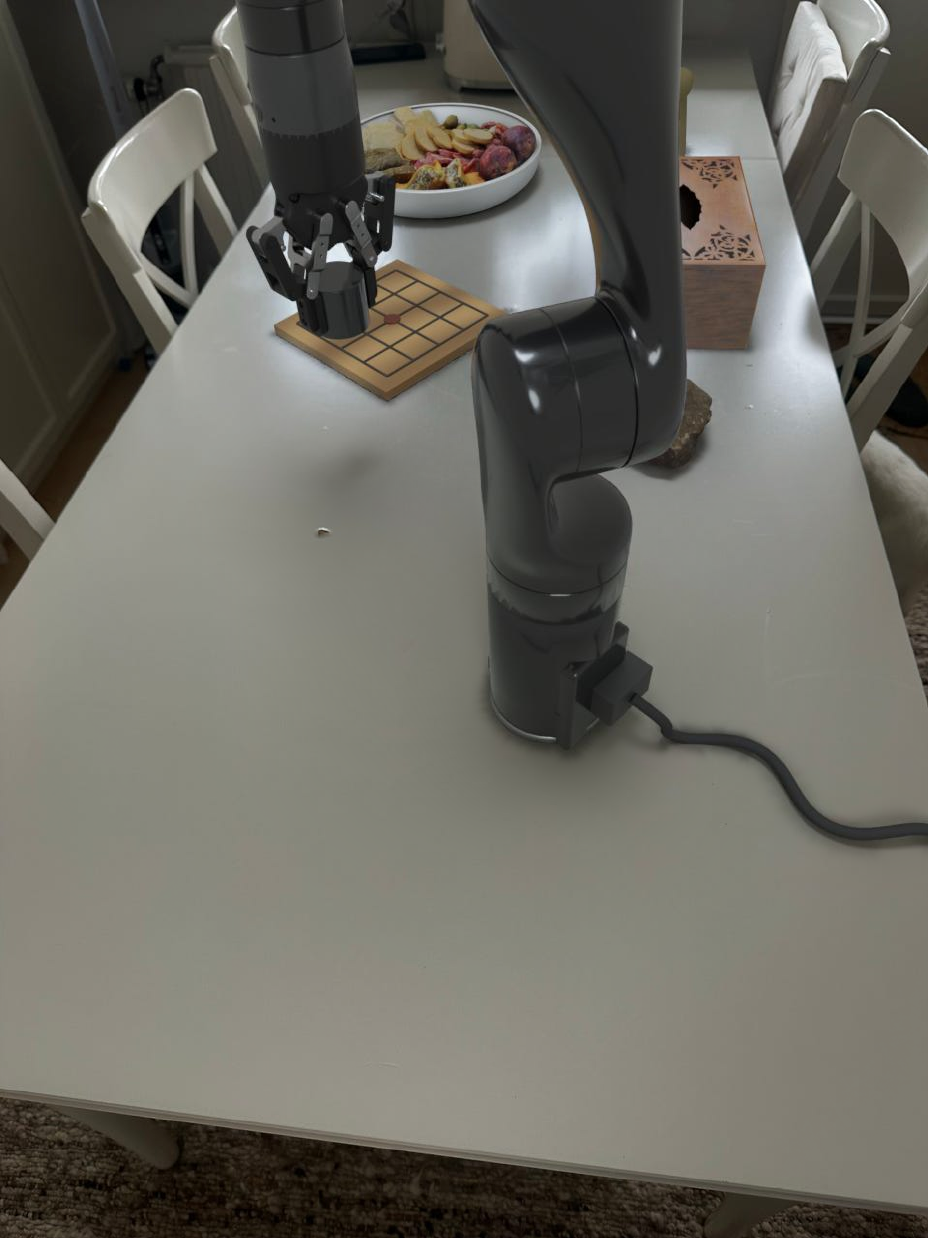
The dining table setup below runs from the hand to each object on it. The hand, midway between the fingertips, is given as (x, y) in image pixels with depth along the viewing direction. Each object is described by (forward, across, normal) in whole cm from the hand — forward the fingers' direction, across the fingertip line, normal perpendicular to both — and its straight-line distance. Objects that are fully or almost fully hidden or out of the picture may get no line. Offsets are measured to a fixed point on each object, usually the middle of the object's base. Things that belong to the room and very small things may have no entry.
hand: (341, 316), depth 76 cm
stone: (+16, +20, -18) cm, 32 cm away
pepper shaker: (+16, +77, +18) cm, 80 cm away
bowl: (+17, +49, +39) cm, 65 cm away
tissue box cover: (+16, +46, -5) cm, 49 cm away
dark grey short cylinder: (+1, 0, 0) cm, 1 cm away
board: (+16, +18, +15) cm, 28 cm away
